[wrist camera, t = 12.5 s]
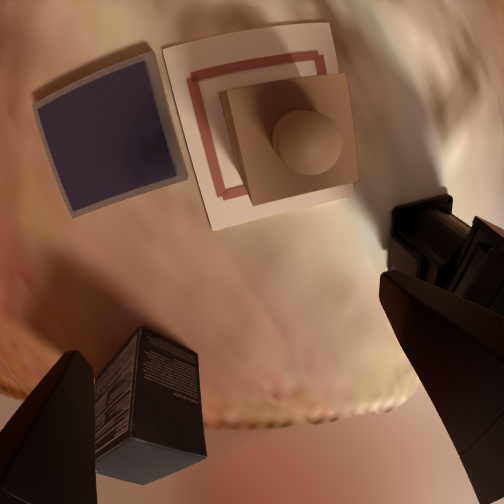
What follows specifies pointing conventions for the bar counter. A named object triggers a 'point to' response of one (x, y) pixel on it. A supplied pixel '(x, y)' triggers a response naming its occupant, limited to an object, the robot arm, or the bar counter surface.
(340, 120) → the stamp
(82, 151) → the ink pad
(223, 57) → the print sheet
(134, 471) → the small box
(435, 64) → the bar counter surface
